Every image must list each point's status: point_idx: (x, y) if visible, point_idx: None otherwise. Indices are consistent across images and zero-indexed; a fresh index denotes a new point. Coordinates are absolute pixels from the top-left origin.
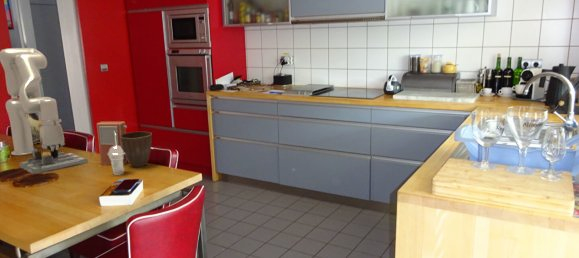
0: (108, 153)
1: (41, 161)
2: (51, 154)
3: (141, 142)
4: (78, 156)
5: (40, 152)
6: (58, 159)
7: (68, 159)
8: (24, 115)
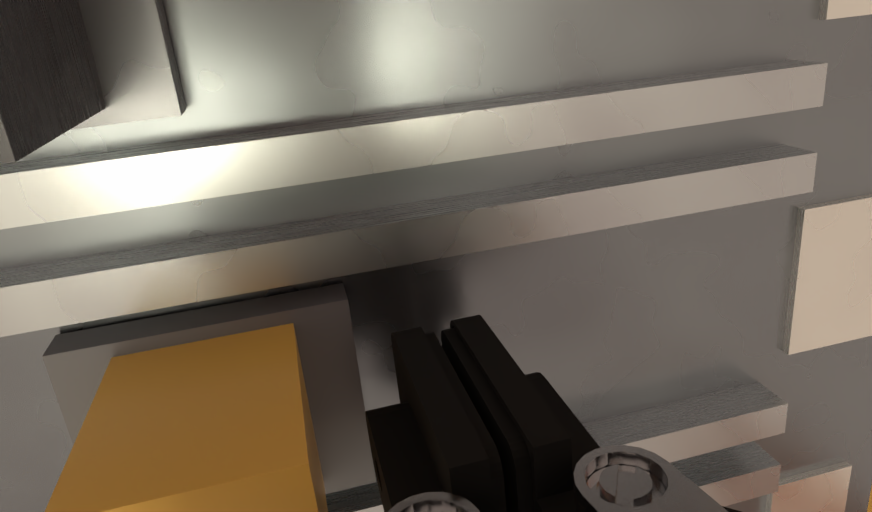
0: None
1: (72, 436)
2: (382, 489)
3: None
4: (869, 333)
5: (6, 155)
6: None
7: None
8: None
